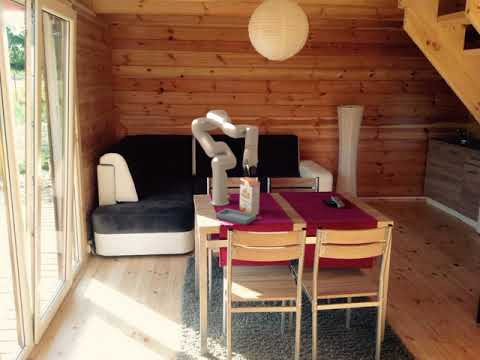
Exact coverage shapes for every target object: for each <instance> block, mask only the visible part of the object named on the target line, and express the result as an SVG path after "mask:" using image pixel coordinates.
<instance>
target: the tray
mask: <svg viewBox="0 0 480 360" xmlns="http://www.w3.org/2000/svg"><path fill="white" fill-rule="evenodd" d="M256 218H257V215H255V214H250V213H245V212H243V211H242V210H240V211H239V210H235V209H232V208H231V209H230V208H224V209H221V210H220V211H217V212H216V213H215V219H219V220H223V221H228V222H230V223H231V222H232V223H234V224H235V223H236V224H240V225H244V226H247V225H249V224H250V223H252V222H254V221H256V220H257V219H256Z"/></svg>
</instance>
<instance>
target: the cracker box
mask: <svg viewBox="0 0 480 360" xmlns="http://www.w3.org/2000/svg"><path fill="white" fill-rule="evenodd" d="M239 181H240V182H239V210H240V211H241V212H245V213H250V214H255V215H256V216H258V215H260V191H261V190H260V188H261V182H260V181H258V180H255V179H254V178H252V177H251V178H250V176H249V177H245V176H244V177H240V180H239Z"/></svg>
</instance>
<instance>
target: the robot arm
mask: <svg viewBox="0 0 480 360" xmlns="http://www.w3.org/2000/svg"><path fill="white" fill-rule="evenodd" d="M217 128H219V129H221V130H222V132H223V133H224V134H225V135H227V136H229V137H230V138H234V139H238V138H239V139H240V138H244V140H245V141H244V142H245V144H244V151H243V157H242V158H243V160H242V168H243V177H244V178H245V177H249V178H250V171H251V174H252V175H257V167H258V162H259V160H258V144H259V143H258V142H259V128H258V127H257V126H254V125H253V126H252V125H249V124H236V125H235V124H232V119H231V117H229V115H228V113H227V111H225V110H223V109H214V110H213V109H212V110H210V111H207V114H206V116H205V117H198V118H195V119H193V120H192V122H191V132H192V135H193V137H195V139H197V141H198V143H199V144H200V146H201V148H202V149H203V150H204V152H205V154H206V155H207V156H208V157H209V158H212V160H211V162H210V163H211V169H212V194H211V195H212V199H211V200H210V201H209V203H210V204H211V205H212V206H219V207H221V206H227V205H229V204H230V201H229V200H228V199H229V198H231V196H230V194H228V175H227V172H226V171H227V170H230V169H234V168H235V167H236V165H237V158H236V156H235V155H234V153H233V152H232V150H231V148H230V147H229V146H228V144H227V143H226V142H224V141H215V140H214V139H213V137H212V136H211V135H210V134H209V133H208V132H207V131H212V130H215V129H217ZM250 168H251V170H249V169H250Z"/></svg>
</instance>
